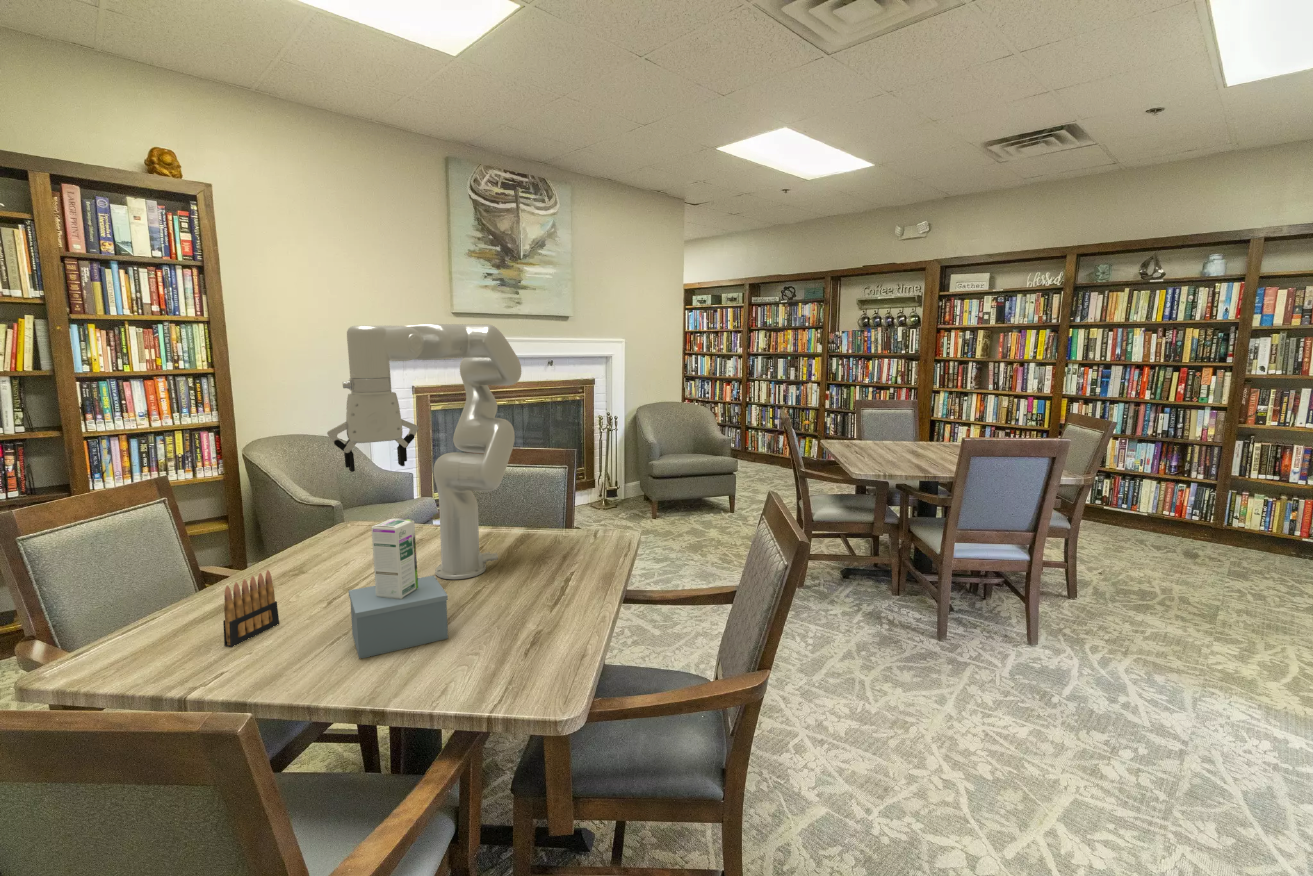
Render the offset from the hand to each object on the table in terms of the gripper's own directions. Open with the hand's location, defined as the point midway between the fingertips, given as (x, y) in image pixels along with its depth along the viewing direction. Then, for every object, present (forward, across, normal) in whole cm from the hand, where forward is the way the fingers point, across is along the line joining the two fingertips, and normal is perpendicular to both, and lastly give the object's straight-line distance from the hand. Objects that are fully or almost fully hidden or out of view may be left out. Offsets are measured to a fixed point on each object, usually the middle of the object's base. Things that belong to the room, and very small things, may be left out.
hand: (377, 467), depth 125 cm
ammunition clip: (+32, -24, +4) cm, 41 cm away
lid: (+24, 0, -12) cm, 27 cm away
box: (+32, 0, -13) cm, 35 cm away
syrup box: (+24, 0, -12) cm, 27 cm away
